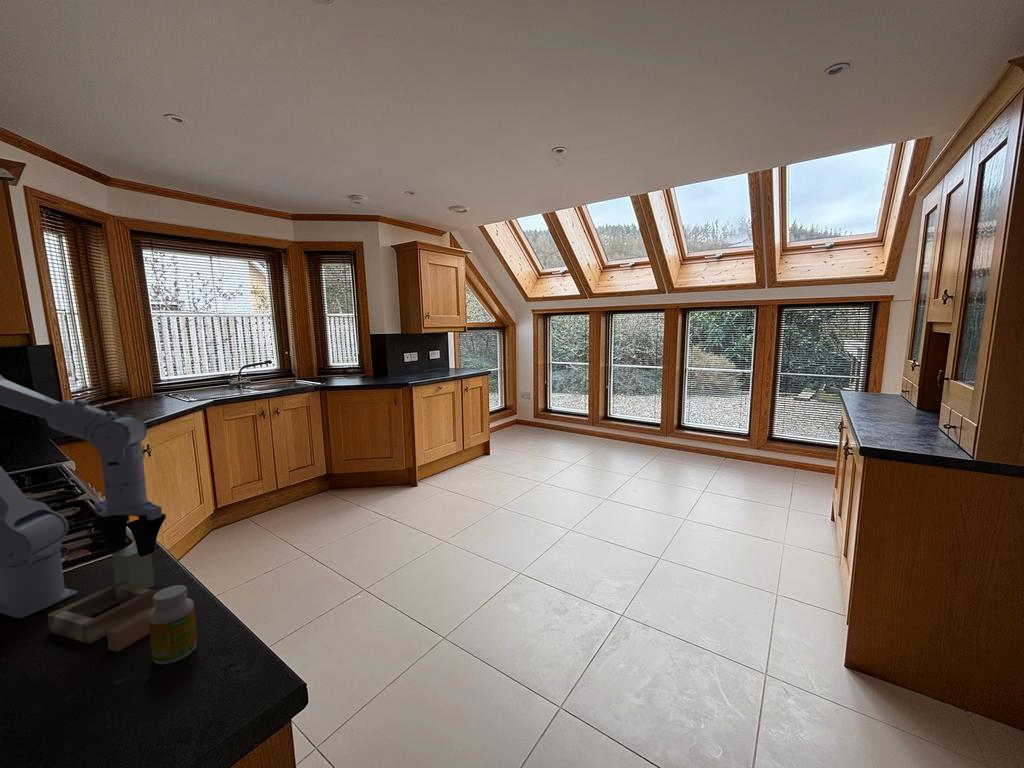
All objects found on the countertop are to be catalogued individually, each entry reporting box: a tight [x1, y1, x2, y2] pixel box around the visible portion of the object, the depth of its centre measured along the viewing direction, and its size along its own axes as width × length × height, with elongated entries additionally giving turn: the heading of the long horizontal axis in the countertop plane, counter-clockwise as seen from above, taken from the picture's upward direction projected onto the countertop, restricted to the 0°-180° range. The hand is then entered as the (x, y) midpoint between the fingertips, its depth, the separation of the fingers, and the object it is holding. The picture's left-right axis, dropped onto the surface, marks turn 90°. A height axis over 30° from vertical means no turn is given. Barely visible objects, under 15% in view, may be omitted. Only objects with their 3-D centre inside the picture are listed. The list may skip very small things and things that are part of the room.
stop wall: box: [106, 606, 155, 653], centre depth 71 cm, size 2×10×3 cm, turn 163°
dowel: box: [111, 544, 155, 589], centre depth 82 cm, size 4×4×8 cm
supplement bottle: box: [149, 584, 198, 665], centre depth 65 cm, size 5×5×10 cm
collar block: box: [47, 582, 158, 645], centre depth 74 cm, size 10×10×3 cm
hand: (132, 551), depth 82 cm, fingers open, 7 cm apart
